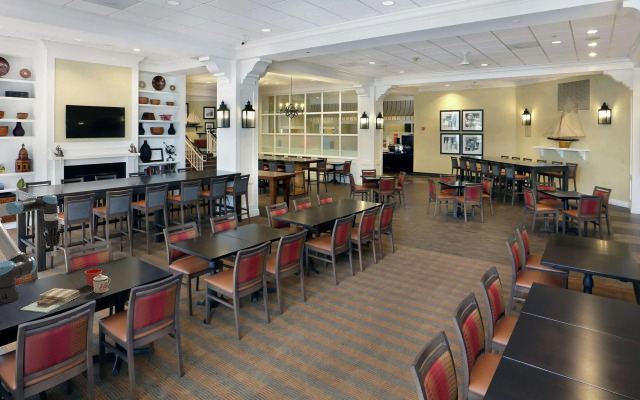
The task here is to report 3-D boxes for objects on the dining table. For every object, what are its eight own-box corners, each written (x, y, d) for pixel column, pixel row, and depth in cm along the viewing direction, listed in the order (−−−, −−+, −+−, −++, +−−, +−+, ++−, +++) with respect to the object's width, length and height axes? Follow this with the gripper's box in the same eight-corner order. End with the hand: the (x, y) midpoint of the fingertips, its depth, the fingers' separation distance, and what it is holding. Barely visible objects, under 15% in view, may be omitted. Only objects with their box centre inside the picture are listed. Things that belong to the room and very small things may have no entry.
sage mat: (20, 309, 243) (20, 309, 243) (40, 300, 256) (39, 299, 256) (47, 313, 240) (46, 312, 240) (65, 303, 253) (65, 302, 253)
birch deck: (40, 300, 256) (39, 294, 256) (55, 293, 268) (54, 287, 267) (65, 303, 253) (65, 297, 253) (79, 296, 265) (79, 290, 265)
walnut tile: (37, 305, 248) (37, 302, 248) (46, 300, 255) (46, 297, 255) (49, 306, 247) (48, 303, 247) (58, 302, 254) (58, 299, 254)
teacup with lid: (100, 294, 270) (99, 277, 268) (90, 292, 273) (89, 275, 271) (115, 288, 281) (114, 272, 279) (105, 286, 284) (104, 270, 282)
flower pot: (100, 280, 294) (99, 267, 293) (104, 285, 286) (103, 271, 284) (83, 283, 287) (83, 270, 286) (87, 288, 279) (86, 274, 278)
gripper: (48, 222, 252) (50, 259, 256) (64, 218, 265) (66, 253, 268) (37, 221, 253) (40, 258, 257) (54, 217, 266) (56, 252, 270)
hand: (53, 255), depth 263 cm, fingers closed
